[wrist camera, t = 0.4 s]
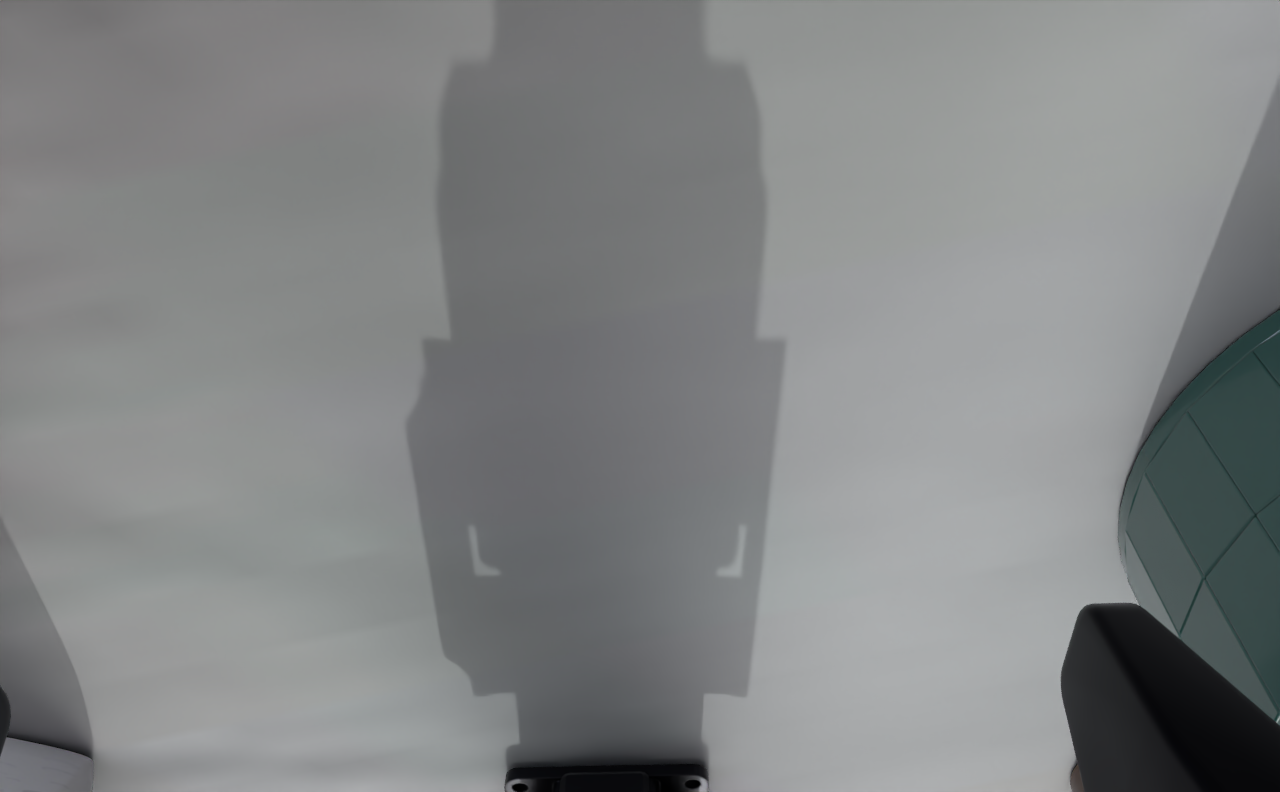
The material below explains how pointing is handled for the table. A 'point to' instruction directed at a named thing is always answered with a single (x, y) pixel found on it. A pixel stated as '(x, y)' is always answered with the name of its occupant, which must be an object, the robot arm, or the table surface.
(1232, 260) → the table surface
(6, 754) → the juice carton
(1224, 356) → the dark green bowl
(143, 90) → the table surface
